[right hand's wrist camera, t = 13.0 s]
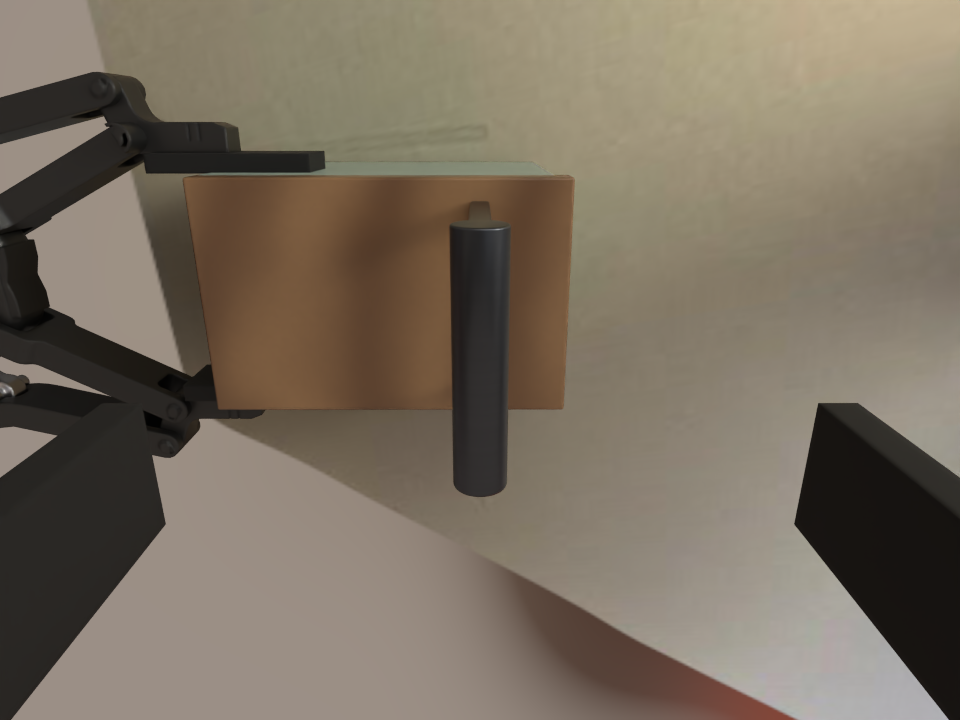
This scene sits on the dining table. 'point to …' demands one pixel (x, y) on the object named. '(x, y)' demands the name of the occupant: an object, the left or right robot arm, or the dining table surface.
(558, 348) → the lid
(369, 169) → the chest
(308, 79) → the dining table surface
